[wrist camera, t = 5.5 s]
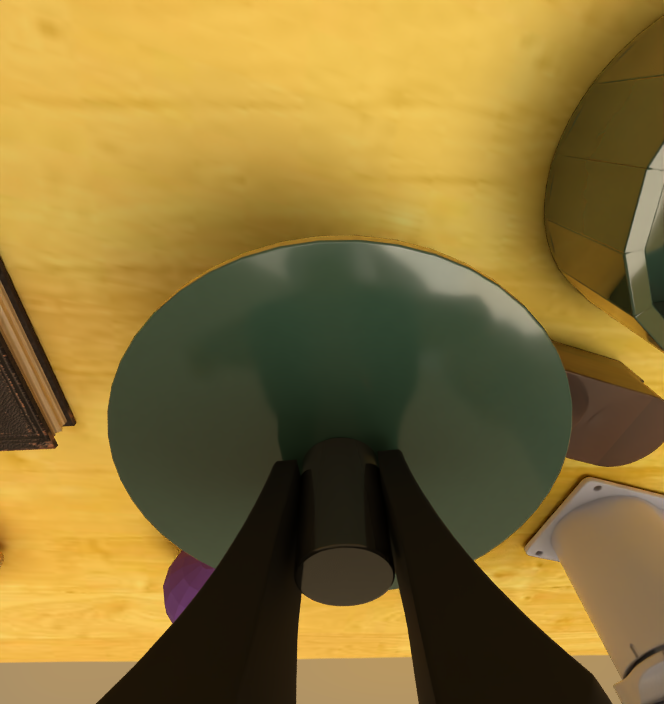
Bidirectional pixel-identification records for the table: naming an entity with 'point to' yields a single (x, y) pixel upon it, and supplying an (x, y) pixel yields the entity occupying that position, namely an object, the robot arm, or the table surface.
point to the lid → (339, 404)
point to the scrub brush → (609, 410)
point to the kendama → (183, 583)
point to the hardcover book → (26, 381)
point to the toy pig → (1, 559)
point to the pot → (615, 190)
